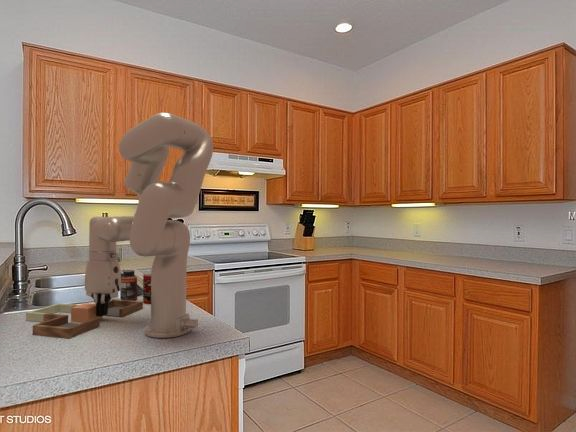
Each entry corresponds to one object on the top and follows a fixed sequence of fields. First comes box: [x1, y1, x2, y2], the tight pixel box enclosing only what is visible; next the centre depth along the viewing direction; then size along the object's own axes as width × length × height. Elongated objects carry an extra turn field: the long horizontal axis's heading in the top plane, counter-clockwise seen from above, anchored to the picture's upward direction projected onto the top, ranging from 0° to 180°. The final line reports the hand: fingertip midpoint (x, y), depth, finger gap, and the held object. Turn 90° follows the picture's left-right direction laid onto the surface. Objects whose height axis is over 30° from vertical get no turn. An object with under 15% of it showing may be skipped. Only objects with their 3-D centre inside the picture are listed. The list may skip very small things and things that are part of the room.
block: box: [70, 302, 103, 324], centre depth 114 cm, size 6×6×4 cm
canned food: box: [142, 271, 151, 305], centre depth 138 cm, size 8×8×11 cm
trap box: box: [25, 298, 144, 339], centre depth 115 cm, size 26×32×2 cm
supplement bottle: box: [120, 269, 138, 301], centre depth 141 cm, size 6×6×11 cm
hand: (101, 315), depth 113 cm, fingers closed
